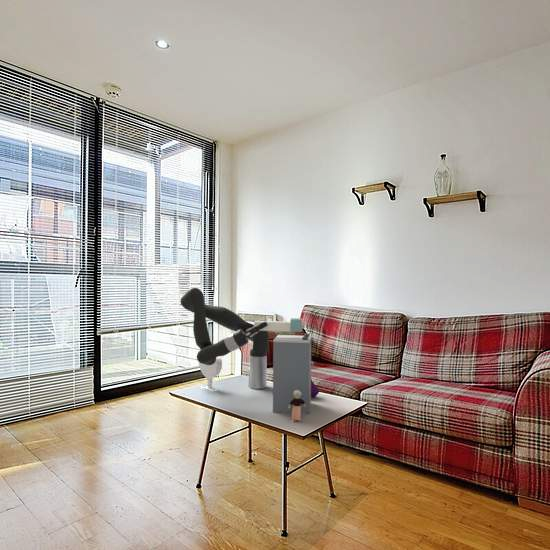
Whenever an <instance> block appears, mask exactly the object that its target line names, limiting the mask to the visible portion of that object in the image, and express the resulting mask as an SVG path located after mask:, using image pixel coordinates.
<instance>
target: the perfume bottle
mask: <svg viewBox="0 0 550 550" xmlns="http://www.w3.org/2000/svg"><path fill="white" fill-rule="evenodd" d="M314 365H315V364H314V361H313V360H311V366H312V367H314ZM320 392H321V390H320V389H319V388H318V387H317V386H316V384H315V383H314V382H313V379H312V378H311V400H312V399H315V398H317V396H318V394H319V393H320Z"/></svg>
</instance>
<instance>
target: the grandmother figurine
mask: <svg viewBox="0 0 550 550" xmlns="http://www.w3.org/2000/svg"><path fill="white" fill-rule="evenodd" d="M293 394H294V397H295V398H294V399H293V400H292V401H291V402H290V404H289V406H288V408H289V409H290V407H291V405H293V410H292V413H291V420H290V421H296V422H302V421H301V420H302V419H301V418H302V413H301V404H303V405H304V407H306V405H305V402H304V400H302V399H300V396H301V392H300V391H298V390H295V391H294V393H293Z"/></svg>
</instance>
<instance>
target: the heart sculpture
mask: <svg viewBox="0 0 550 550" xmlns="http://www.w3.org/2000/svg"><path fill="white" fill-rule="evenodd" d="M198 366H199V369H200V372H201V373H202V375H203V376H204V377H205V379H206V380H207V385H205V386H206V387H203V386H200V387H201V388H200V389H202V388H206V389H209V390H212V391H215V390H216V391H217V392H219V391H218V390H220V389H218V388H215V387H213V379H214V378H215V377H217V376H219V374H221V370H222V367H223V360H222V358H221V356H218V357H216V361H215V363H214V364H213V365H205V364H202V363H200V362H199V361H198ZM212 391H211V392H212Z"/></svg>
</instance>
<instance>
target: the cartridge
mask: <svg viewBox="0 0 550 550" xmlns="http://www.w3.org/2000/svg"><path fill="white" fill-rule="evenodd" d="M263 322H266V323H267V326H266V327H264V328H263V329H261V330H260V331H268V332H296V333H297V332H298V333H299V332H300V333H301V332H302V331H303V318H298V317H297V318H296V317H295V318H290V321H284V320H283V321H282V320H281V321H280V320H279V321H277V320H275V321H273V320H272V321H271V320H254V322H253V325H254V327H255V326H257V325H258V326H259V325H260V324H262V323H263Z"/></svg>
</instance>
